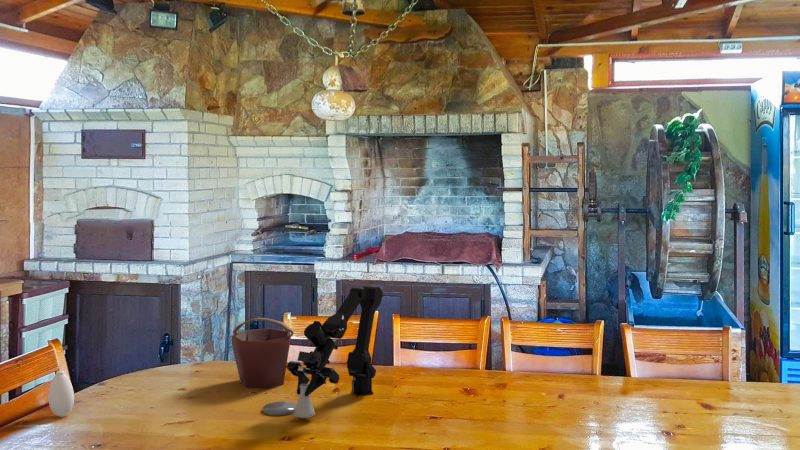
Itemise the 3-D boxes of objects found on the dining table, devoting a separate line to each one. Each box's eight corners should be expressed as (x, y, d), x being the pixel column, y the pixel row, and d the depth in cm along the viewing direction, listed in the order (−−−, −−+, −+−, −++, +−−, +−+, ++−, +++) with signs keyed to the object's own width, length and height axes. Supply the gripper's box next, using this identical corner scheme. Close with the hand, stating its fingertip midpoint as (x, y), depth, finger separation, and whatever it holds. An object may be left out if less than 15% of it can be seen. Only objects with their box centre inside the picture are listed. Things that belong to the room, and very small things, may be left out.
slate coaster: (293, 402, 265) (293, 399, 265) (302, 412, 254) (302, 410, 254) (259, 406, 261) (259, 404, 260) (266, 417, 249) (266, 414, 249)
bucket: (306, 380, 292) (305, 316, 290) (267, 395, 273) (265, 327, 271) (259, 371, 305) (257, 310, 303) (218, 385, 286) (217, 320, 284)
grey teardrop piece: (50, 421, 248) (47, 367, 246) (48, 414, 254) (46, 362, 253) (75, 417, 251) (73, 364, 250) (74, 410, 258) (71, 359, 256)
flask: (311, 419, 243) (311, 389, 242) (290, 417, 244) (289, 387, 244) (318, 412, 250) (318, 382, 249) (298, 410, 251) (297, 381, 251)
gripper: (288, 337, 253) (267, 378, 245) (333, 344, 243) (312, 387, 235) (304, 355, 260) (284, 395, 252) (348, 362, 251) (328, 404, 242)
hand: (301, 395), depth 245 cm, fingers closed on flask, 3 cm apart
